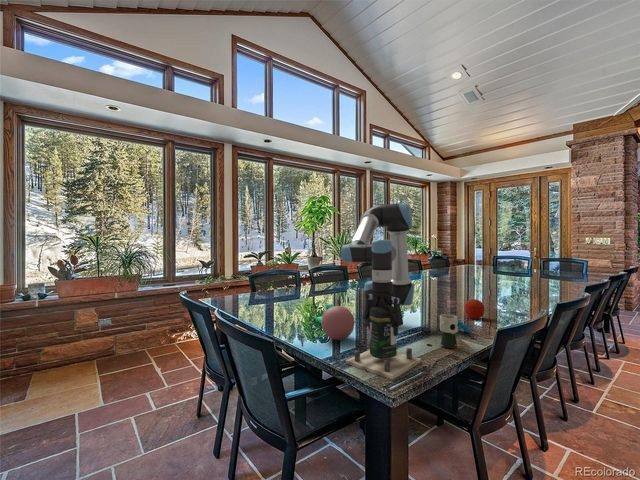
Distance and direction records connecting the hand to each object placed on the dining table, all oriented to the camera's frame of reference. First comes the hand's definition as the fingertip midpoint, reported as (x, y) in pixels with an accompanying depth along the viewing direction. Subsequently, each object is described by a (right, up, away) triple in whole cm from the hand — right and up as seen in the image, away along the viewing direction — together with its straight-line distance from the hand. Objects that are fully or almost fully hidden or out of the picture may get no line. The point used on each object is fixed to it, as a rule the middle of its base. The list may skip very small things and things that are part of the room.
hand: (383, 341), depth 118 cm
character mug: (+31, -8, +16) cm, 36 cm away
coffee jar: (0, -6, 0) cm, 6 cm away
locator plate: (0, -8, 0) cm, 8 cm away
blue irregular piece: (+45, -7, +35) cm, 57 cm away
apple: (+64, -7, +60) cm, 88 cm away
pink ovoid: (-16, -8, +30) cm, 35 cm away
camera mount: (-20, -8, +56) cm, 60 cm away
